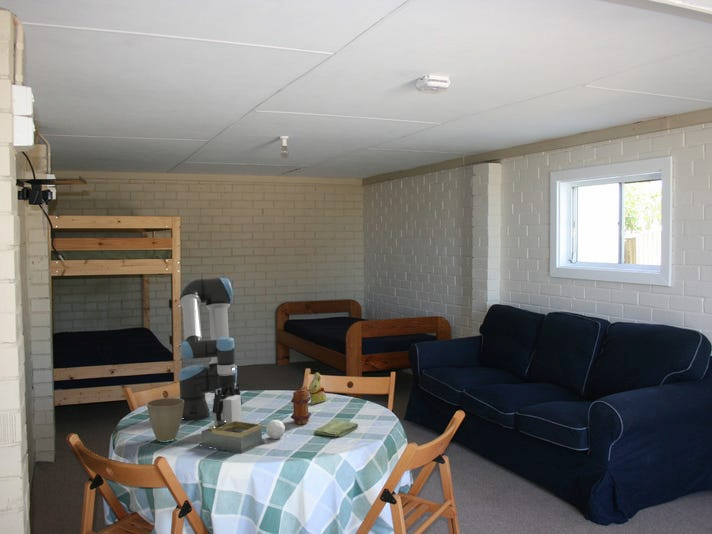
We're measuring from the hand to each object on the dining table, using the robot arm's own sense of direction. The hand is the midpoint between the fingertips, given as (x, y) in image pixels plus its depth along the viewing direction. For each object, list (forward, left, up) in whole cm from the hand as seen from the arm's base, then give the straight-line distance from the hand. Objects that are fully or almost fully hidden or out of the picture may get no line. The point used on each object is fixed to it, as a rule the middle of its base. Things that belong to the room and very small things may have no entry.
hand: (228, 425), depth 293 cm
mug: (+21, +26, -3) cm, 33 cm away
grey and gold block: (+14, -14, -3) cm, 20 cm away
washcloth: (+43, +19, -3) cm, 47 cm away
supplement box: (0, 0, -3) cm, 3 cm away
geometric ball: (+25, 0, -3) cm, 25 cm away
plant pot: (-15, -21, -3) cm, 26 cm away
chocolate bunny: (+9, +58, -3) cm, 59 cm away
